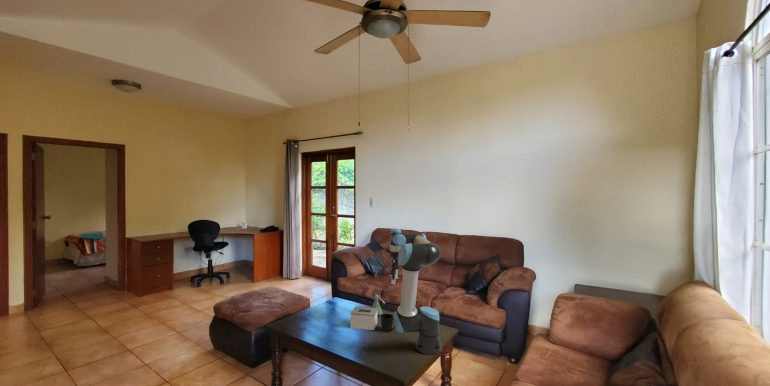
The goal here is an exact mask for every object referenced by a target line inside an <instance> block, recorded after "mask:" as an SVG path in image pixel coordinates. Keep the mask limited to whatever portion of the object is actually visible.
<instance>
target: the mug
mask: <svg viewBox="0 0 770 386" xmlns="http://www.w3.org/2000/svg"><path fill="white" fill-rule="evenodd" d="M380 324H381V329H382V332H384V333H389V332H392V331H394V330H395V329H396V327H395V325H393V324H394V314H391V313H382V314H380Z"/></svg>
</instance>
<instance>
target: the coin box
mask: <svg viewBox="0 0 770 386" xmlns="http://www.w3.org/2000/svg"><path fill="white" fill-rule="evenodd" d="M377 312H378V309H377V308H371V307H364V306H363V307H362V306H361V307H360V306H355V307H354V308H353V309H352V311H351V312H350V329H358V330H366V331H367V330H368V331H375V330H376V329H375V328H376V326H377V324H378V317H377Z"/></svg>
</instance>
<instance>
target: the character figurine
mask: <svg viewBox="0 0 770 386" xmlns="http://www.w3.org/2000/svg"><path fill="white" fill-rule="evenodd" d="M370 300H374V301H373V302H372V306H371V307H370V308H377V309H378V312H377V318H378V317H380V315H382V314H384V313H383V310H382V307H381V305H380V302H379V300H380V301H381V302H382V304H384V305H386V302H385V301H384V300H383V298H382V297H380V295H379V292H378V291H375V292H374V295H373V296H372V297H370V298H369V299H367V300H365V303H366V302H369V301H370Z"/></svg>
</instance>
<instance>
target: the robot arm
mask: <svg viewBox="0 0 770 386" xmlns="http://www.w3.org/2000/svg"><path fill="white" fill-rule="evenodd" d="M389 234H390V239H389V240H390V244H389V246H388V247H389V248H390V249H389V250H390V251H389V256H390V257H391V258H392V259H391V271H390V272H391V273H390V275H391V279H390V280H391V282H390V284H391V285H396V279H397V280H398V278H399V277H398V276H399V270H400V268H401V269H402V270H403V271H402V283H401V294H400V295H401V296H400V305H398V307H397V310H395V311H394V312H393V319H394V320H393V322H394V326H395V330H396V332H397V333H401V334H406V333H418V336H417V339H416V341H415V349H416V351H418V352H419V353H421V354H425V355H431V356H432V355H438V354H440V353H441V352H442V350H443V349H442V343H441V339H440V320H441V319H440V312H439V311H438V310H437V309H435V308H434V307H430V306H420V307H419V310H418V308H417V307H416V305H417V304H416V302H417V294H418V293H417V290H418V282H419V281H418V280H419V272H420V271H421V270H422V268H423V266H430V265H433V264H435V263H437V262H438V261H439V259H440V258H441V256H442V250H441V247H440V246H439V245H438V244H437V243H435V242H431V241H430V240H428V239H427V236H426V234H425V233H402V230H401V228H391V230H390V233H389ZM399 266H400V268H399Z"/></svg>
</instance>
